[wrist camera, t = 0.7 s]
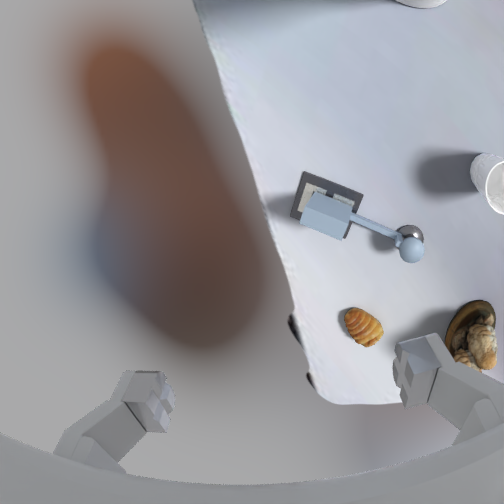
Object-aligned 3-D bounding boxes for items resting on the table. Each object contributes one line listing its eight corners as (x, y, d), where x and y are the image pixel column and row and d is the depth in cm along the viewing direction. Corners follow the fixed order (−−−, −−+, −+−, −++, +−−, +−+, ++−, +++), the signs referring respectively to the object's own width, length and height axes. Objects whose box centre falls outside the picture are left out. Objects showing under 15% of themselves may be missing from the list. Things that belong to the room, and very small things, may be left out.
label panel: (304, 171, 51) (303, 171, 51) (363, 194, 49) (363, 195, 49) (290, 215, 56) (289, 216, 56) (345, 238, 54) (345, 239, 54)
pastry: (337, 315, 63) (334, 327, 60) (361, 300, 59) (359, 311, 56) (363, 341, 63) (361, 353, 60) (387, 327, 60) (386, 339, 56)
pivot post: (397, 223, 49) (399, 232, 46) (425, 226, 47) (428, 235, 44) (394, 250, 51) (394, 259, 48) (420, 253, 50) (422, 263, 46)
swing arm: (425, 235, 47) (432, 256, 40) (415, 255, 49) (419, 279, 43) (316, 187, 51) (306, 202, 44) (308, 210, 53) (297, 227, 47)
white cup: (487, 203, 40) (507, 225, 32) (458, 174, 41) (475, 191, 33) (511, 170, 36) (536, 186, 28) (482, 139, 36) (504, 149, 28)
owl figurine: (479, 360, 53) (487, 418, 40) (437, 360, 58) (438, 420, 44) (502, 299, 45) (524, 358, 32) (455, 298, 50) (468, 359, 36)
